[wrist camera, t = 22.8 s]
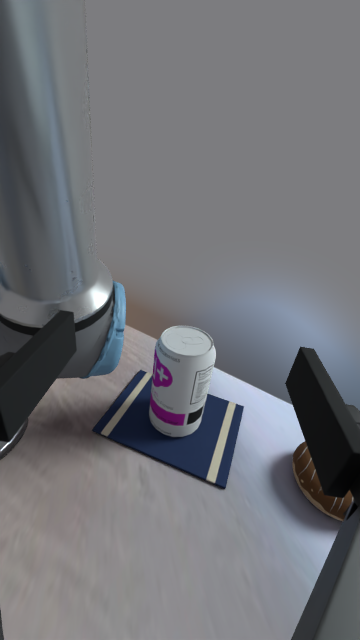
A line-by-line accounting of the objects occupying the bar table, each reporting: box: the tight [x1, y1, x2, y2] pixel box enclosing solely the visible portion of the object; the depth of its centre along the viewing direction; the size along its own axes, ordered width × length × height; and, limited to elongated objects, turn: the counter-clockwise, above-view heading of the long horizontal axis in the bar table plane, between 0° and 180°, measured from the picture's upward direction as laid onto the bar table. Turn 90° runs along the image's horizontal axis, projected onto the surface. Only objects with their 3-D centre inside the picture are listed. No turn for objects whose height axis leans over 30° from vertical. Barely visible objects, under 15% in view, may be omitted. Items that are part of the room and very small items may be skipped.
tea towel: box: [92, 370, 244, 489], centre depth 44 cm, size 20×15×1 cm
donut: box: [292, 441, 354, 521], centre depth 36 cm, size 11×11×4 cm
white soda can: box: [149, 326, 216, 437], centre depth 40 cm, size 8×8×15 cm
